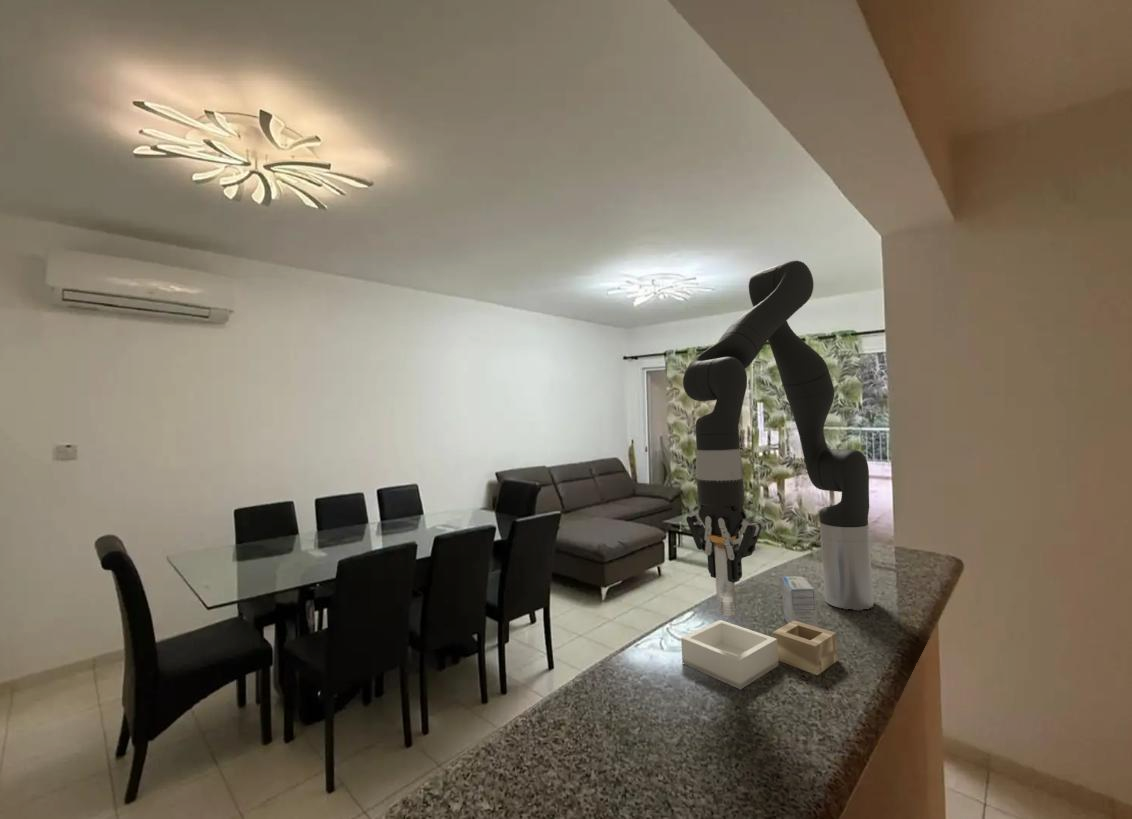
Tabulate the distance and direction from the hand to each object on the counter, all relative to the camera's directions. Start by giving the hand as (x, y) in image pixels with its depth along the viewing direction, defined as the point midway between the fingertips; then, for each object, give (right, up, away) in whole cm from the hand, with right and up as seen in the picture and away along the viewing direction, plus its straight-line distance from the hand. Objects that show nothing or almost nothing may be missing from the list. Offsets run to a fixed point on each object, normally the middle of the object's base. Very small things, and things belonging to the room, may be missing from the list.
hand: (725, 578), depth 81 cm
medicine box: (+19, -14, +13) cm, 27 cm away
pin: (0, -6, 0) cm, 6 cm away
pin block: (+14, -14, 0) cm, 19 cm away
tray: (+1, -14, -1) cm, 14 cm away
